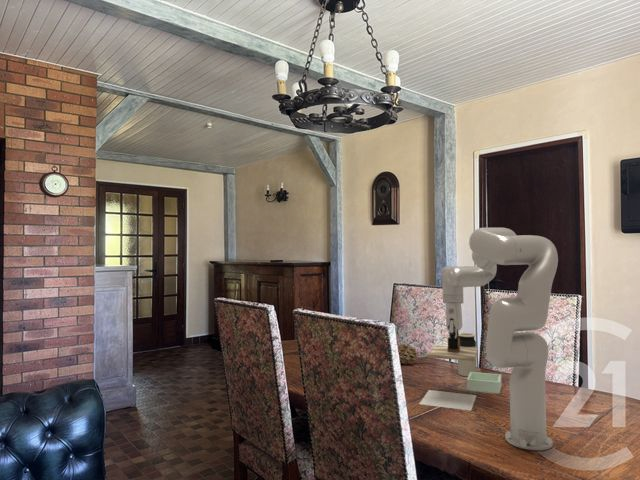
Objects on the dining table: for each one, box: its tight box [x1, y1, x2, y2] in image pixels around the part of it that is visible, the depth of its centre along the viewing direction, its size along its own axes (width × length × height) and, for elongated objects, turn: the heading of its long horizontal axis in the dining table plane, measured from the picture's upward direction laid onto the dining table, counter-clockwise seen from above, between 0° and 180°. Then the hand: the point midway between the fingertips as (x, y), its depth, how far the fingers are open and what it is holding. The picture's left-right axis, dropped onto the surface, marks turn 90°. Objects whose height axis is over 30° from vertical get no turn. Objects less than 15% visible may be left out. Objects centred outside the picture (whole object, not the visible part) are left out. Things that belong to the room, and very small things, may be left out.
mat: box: [418, 389, 477, 412], centre depth 170 cm, size 18×18×1 cm
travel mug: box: [457, 332, 478, 378], centre depth 206 cm, size 8×8×18 cm
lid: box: [428, 336, 479, 361], centre depth 173 cm, size 16×16×6 cm
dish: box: [466, 371, 502, 395], centre depth 184 cm, size 12×12×5 cm
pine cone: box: [397, 343, 429, 365], centre depth 226 cm, size 22×10×10 cm, turn 90°
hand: (454, 347), depth 173 cm, fingers closed on lid, 4 cm apart
